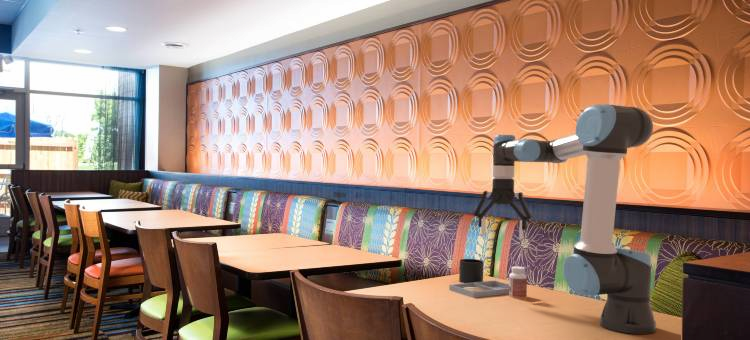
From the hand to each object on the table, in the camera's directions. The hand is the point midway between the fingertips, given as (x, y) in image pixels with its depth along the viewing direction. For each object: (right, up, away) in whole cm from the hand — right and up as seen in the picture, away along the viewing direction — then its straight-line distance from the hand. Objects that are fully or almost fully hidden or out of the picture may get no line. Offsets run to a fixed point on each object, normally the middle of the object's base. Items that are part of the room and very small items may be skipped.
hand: (501, 237), depth 210 cm
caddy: (-5, -21, +8) cm, 23 cm away
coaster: (-9, -21, +5) cm, 23 cm away
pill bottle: (+6, -22, 0) cm, 23 cm away
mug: (-7, -21, +27) cm, 35 cm away
